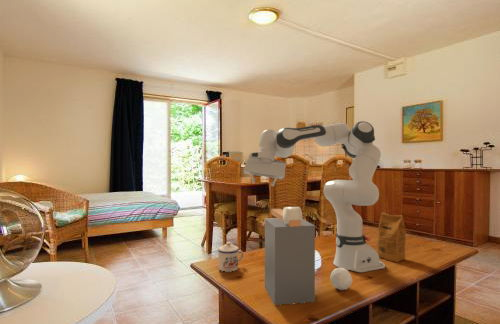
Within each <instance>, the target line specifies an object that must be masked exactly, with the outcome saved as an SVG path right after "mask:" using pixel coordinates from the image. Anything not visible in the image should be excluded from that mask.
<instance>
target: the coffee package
mask: <svg viewBox="0 0 500 324" xmlns="http://www.w3.org/2000/svg"><path fill="white" fill-rule="evenodd" d="M380 215H381V216H380V218H379V223H378V229H377V238H376V251H377V253H378V255H379V258H382V259H384V260H386V261H390V262H395V263H399V262H401V261H403V260H405V259H406V237H407V235H406V233H407V230H406V225H405V221H404V215H403V214H401V215H400V214H398V215H397V214H388V213H386V212H381V214H380Z"/></svg>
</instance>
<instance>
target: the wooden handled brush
mask: <svg viewBox="0 0 500 324" xmlns="http://www.w3.org/2000/svg"><path fill="white" fill-rule="evenodd" d="M270 214H271V215H272V216H274V218H278V219H279V220H281V221H282V222H284V224H285V225H288V226H289V227H293V226H301V223H302V219H303V211H302V208H301V207H300V206H285V207H283V208H270Z"/></svg>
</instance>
